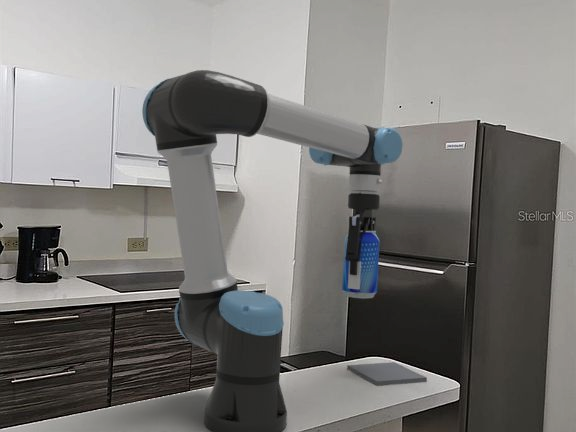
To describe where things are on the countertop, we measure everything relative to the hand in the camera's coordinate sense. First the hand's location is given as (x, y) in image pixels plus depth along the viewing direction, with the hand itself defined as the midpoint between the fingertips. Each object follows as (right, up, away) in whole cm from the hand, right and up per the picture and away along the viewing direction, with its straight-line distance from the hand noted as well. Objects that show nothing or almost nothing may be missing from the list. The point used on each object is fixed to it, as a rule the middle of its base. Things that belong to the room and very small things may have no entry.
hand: (359, 286), depth 142 cm
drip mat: (+7, -22, +2) cm, 23 cm away
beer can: (0, -3, 0) cm, 3 cm away
